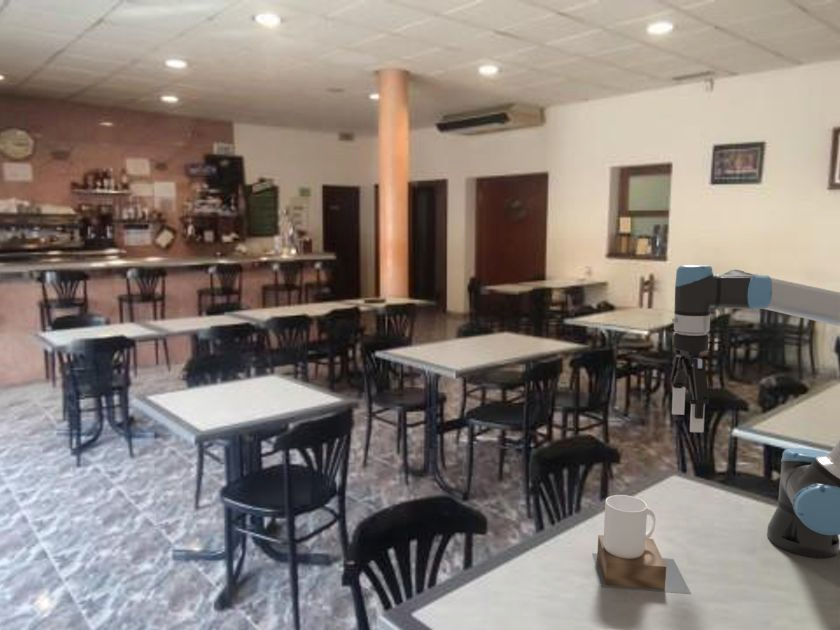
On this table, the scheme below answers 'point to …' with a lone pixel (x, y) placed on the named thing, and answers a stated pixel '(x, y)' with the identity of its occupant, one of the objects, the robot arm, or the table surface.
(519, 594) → the table surface
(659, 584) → the walnut block
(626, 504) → the mug
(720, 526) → the table surface
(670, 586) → the slate tile
